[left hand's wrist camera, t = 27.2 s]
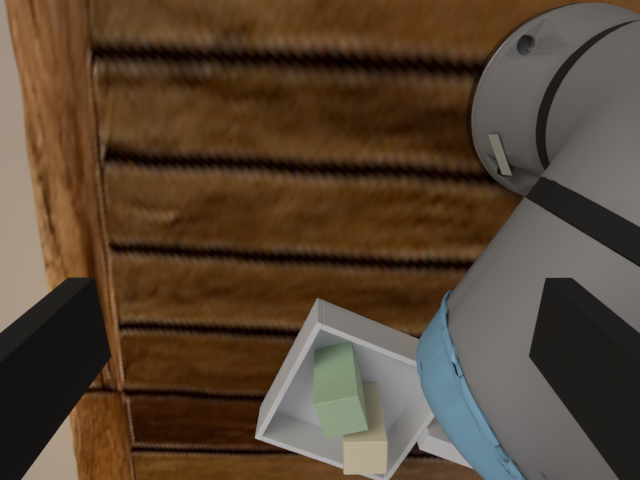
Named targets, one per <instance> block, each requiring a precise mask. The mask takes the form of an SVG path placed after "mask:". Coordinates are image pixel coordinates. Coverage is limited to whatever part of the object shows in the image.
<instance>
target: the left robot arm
mask: <svg viewBox="0 0 640 480" xmlns="http://www.w3.org/2000/svg"><path fill="white" fill-rule="evenodd" d="M467 128H468V136H469V140H470V144H471V147H472V150H473V152H474V154H475V157H476V159H477V160H478V162H479V164H480V165H481V167H482V168H483V169H484V170H485V172H486V173H487V174H488V175H489V176H490V177H491V178H493V179H494V180H495V181H496V182H498V183H499V184H501V185H502V186H504V187H505V188H507V189H509V190H511V191H513V192H515V193H517V194H519V195H522V196H525V197H524V198H523V199H522V201H521V202H520V203H519V205H518V206H517V208H516V209H515V210H514V212H513V213H512V214H511V216H510V217H509V218H508V220H507V221H506V222H505V224H504V225H503V226H502V228H501V229H500V230H499V232H498V233H497V234H496V236H495V237H494V238H493V239H492V241H491V242H490V243H489V245H488V246H487V247H486V248H485V250H484V251H483V252H482V254H481V255H480V256H479V258H478V259H477V260H476V261H475V263H474V264H473V265H472V267H471V268H470V269H469V270H468V272H467V273H466V274H465V276H464V277H463V278H462V279H461V281H460V282H459V283H458V285H457V286H456V287H455V288H454V289H453V290H449V291H448V292H447V293H446V294H445V296H444V297H443V300H442V302H441V307H440V309H439V310H438V312H437V313H436V315H435V316H434V318H433V319H432V321H431V322H430V323H429V325H428V326H427V328H426V329H425V331H424V332H423V334H422V335H421V337H420V340H419V343H418V346H417V351H416V364H417V371H418V374H419V377H420V384H421V388H422V391H423V393H424V396H425V398H426V400H427V403H428V405H429V407H430V409H431V411H432V413H433V414H434V416H435V418H436V420H437V422H438V423H439V425H440V426H441V428H442V430H443V431H444V433H445V434H446V435H447V437H448V438H449V440H450V441H451V442H452V444H453V445H454V446H455V448H456V449H457V450H458V452H459V453H460V454H461V455H462V457H463V458H464V459H465V460H466V461H467V462H468V463H469V464H470V465H471V467H472V468H473V469H474V470H475V471H476V472H477V473H478V474H479V475H480V476H481V477H482V478H483V479H485V480H640V267H639V266H640V14H638V13H635V12H633V11H630V10H628V9H625V8H623V7H620V6H616V5H612V4H605V3H591V2H586V3H575V4H569V5H565V6H561V7H557V8H554V9H550V10H547V11H544V12H542V13H539V14H537V15H535V16H533V17H531V18H529V19H528V20H526V21H524V22H523V23H521V24H520V25H518V26H517V27H516V28H514V29H513V30H512V31H510V32H509V33H508V34H507V35H506V36H505V37H504V38H503V39H502V40H501V41H500V42H499V43H498V44H497V45H496V46H495V48H494V49H493V50H492V51H491V52H490V54H489V55H488V57H487V58H486V60H485V61H484V63H483V65H482V67H481V68H480V70H479V72H478V74H477V77H476V79H475V81H474V84H473V87H472V90H471V94H470V97H469V103H468V110H467ZM526 197H527V198H528V199H527V198H526ZM532 201H533V202H532ZM534 202H535V203H534ZM537 204H538V205H537ZM539 205H540V206H539ZM541 206H542V207H543V208H542V207H541ZM544 208H545V209H544ZM546 209H547V210H549V211H550V212H552V213H554V214H555V215H557V216H558V217H557V216H555V215H554V214H552V213H550V212H549V211H547V210H546ZM559 217H560V218H562V219H563V220H562V219H560V218H559ZM564 220H565V221H567V222H568V223H567V222H565V221H564ZM569 223H570V224H571V225H570V224H569ZM572 225H573V226H572ZM574 226H575V227H577V228H578V229H580V230H582V231H583V232H585V233H586V234H585V233H583V232H582V231H580V230H578V229H577V228H575V227H574ZM587 234H588V235H590V236H591V237H590V236H588V235H587ZM592 237H593V238H595V239H596V240H595V239H593V238H592ZM597 240H598V241H599V242H598V241H597ZM600 242H601V243H600ZM602 243H603V244H604V245H603V244H602ZM605 245H606V246H608V247H609V248H608V247H606V246H605ZM610 248H611V249H612V250H611V249H610ZM613 250H614V251H613ZM615 251H616V252H617V253H616V252H615ZM618 253H619V254H618ZM620 254H621V255H622V256H621V255H620ZM623 256H624V257H623ZM626 258H627V259H626ZM628 259H629V260H630V261H629V260H628ZM631 261H632V262H631ZM633 262H634V263H635V264H634V263H633ZM636 264H637V265H636ZM110 358H111V353H110V348H109V343H108V339H107V334H106V329H105V325H104V320H103V315H102V311H101V306H100V301H99V297H98V292H97V287H96V283H95V278H67V279H66V280H65V281H63V282H62V283H61V284H60V285H59V286H57V287H56V288H55V289H54V290H52V291H51V292H50V293H49V294H48V295H46V296H45V297H44V298H43V299H41V300H40V301H39V302H38V303H37V304H35V305H34V306H33V307H32V308H30V309H29V310H28V311H27V312H26V313H24V314H23V315H22V316H21V317H19V318H18V319H17V320H16V321H15V322H13V323H12V324H11V325H10V326H8V327H7V328H6V329H5V330H4V331H2V332H1V333H0V480H21V479H22V478H23V476H24V475H25V474H26V472H27V471H28V469H29V468H30V467H31V465H32V464H33V463H34V461H35V460H36V459H37V457H38V456H39V454H40V453H41V452H42V450H43V449H44V448H45V446H46V445H47V444H48V442H49V441H50V439H51V438H52V437H53V435H54V434H55V433H56V431H57V430H58V428H59V427H60V426H61V424H62V423H63V422H64V420H65V419H66V418H67V416H68V415H69V414H70V412H71V411H72V409H73V408H74V407H75V405H76V404H77V403H78V401H79V400H80V398H81V397H82V396H83V394H84V393H85V392H86V390H87V389H88V388H89V386H90V385H91V383H92V382H93V381H94V379H95V378H96V377H97V375H98V374H99V373H100V371H101V370H102V368H103V367H104V366H105V364H106V363H107V362H108V360H109V359H110Z"/></svg>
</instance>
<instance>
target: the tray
mask: <svg viewBox="0 0 640 480" xmlns="http://www.w3.org/2000/svg"><path fill="white" fill-rule="evenodd" d="M350 341H351V342H352V344H353V347H354V350H355V354H356V357H357V361H358V364H359V368H360V371H361V378H362V383H365V382H377V386H378V391H379V397H380V402H381V407H382V413H383V418H384V424H385V429H386V435H387V440H388V449H387V472H386V474H360V475H363V476H366V477H369V478H372V479H374V480H389V479H390V478H391V476H392V475H393V474H394V472H395V471H396V470H397V468H398V467H399V465H400V464H401V463H402V461H403V460H404V458H405V457H406V456H407V454H408V453H409V451H410V450H411V449H412V447H413V446H414V445H415V443H416V442H418V446H419V449H420V450H423V451H425V452H428V453H431V454H434V455H436V456H439V457H442V458H445V459H447V460H450V461H453V462H456V463H458V464H461V465H464V466H467V467H469V468H472V467H471V465H470V464H469V463H468V462H467V461H466V460H465V459H464V458H463V457H462V455H461V454H460V453H459V452H458V450H457V449H456V448H455V446H454V445H453V444H452V442H451V441H450V440H449V438H448V437H447V435H446V434H445V433H444V431H443V430H442V428H441V426H440V425H439V423H438V422H437V420H436V418H435V416H434V414H433V413H432V411H431V409H430V407H429V405H428V403H427V400H426V398H425V396H424V393H423V391H422V388H421V384H420V377H419V374H418V371H417V364H416V351H417V346H418V343H419V339H417V338H415V337H412V336H410V335H407V334H405V333H402V332H400V331H397V330H395V329H392V328H390V327H388V326H385V325H383V324H380V323H378V322H375V321H373V320H370V319H368V318H366V317H363V316H361V315H358V314H356V313H353V312H351V311H348V310H346V309H344V308H341V307H339V306H336V305H334V304H331V303H329V302H326V301H324V300H322V299H319V298H317V300H316V301H315V303H314V305H313V307H312V309H311V311H310V313H309V315H308V317H307V319H306V321H305V322H304V324H303V326H302V328H301V330H300V332H299V334H298V336H297V338H296V340H295V342H294V343H293V345H292V347H291V349H290V351H289V353H288V355H287V357H286V359H285V361H284V363H283V364H282V366H281V368H280V370H279V372H278V374H277V376H276V378H275V380H274V382H273V383H272V385H271V387H270V389H269V391H268V393H267V395H266V397H265V399H264V401H263V403H262V404H261V406H260V412H259V418H258V423H257V429H256V435H255V438H256V439H258V440H261V441H264V442H267V443H270V444H273V445H276V446H279V447H282V448H285V449H287V450H290V451H293V452H296V453H299V454H302V455H305V456H308V457H311V458H314V459H316V460H319V461H322V462H325V463H328V464H331V465H334V466H337V467H340V468H343V454H342V437H341V436H337V437H332V438H327V439H325V437H324V434H323V431H322V428H321V425H320V422H319V420H318V417H317V414H316V411H315V408H314V406H313V402H314V350H315V349H320V348H324V347H328V346H333V345H337V344H341V343H346V342H350ZM472 469H473V468H472Z"/></svg>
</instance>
